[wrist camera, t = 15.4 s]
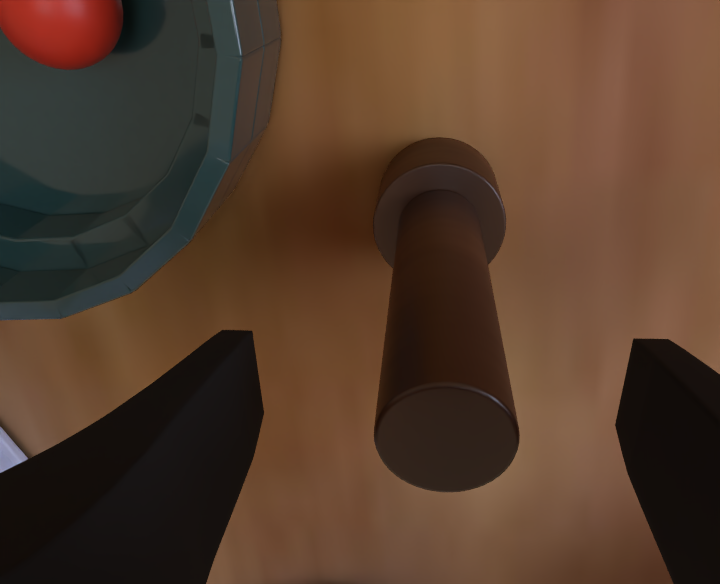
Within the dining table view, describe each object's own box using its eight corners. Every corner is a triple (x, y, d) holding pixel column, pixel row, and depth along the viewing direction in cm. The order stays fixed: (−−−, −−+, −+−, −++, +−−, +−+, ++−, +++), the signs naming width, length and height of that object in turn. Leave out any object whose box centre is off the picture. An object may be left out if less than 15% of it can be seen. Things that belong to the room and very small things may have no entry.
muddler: (387, 253, 20) (348, 527, 10) (371, 145, 18) (307, 352, 9) (499, 242, 19) (568, 522, 10) (494, 129, 18) (570, 332, 8)
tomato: (10, -112, 13) (146, -47, 15) (-8, -55, 16) (112, -5, 17) (-11, 22, 13) (130, 70, 15) (-26, 58, 16) (97, 96, 17)
